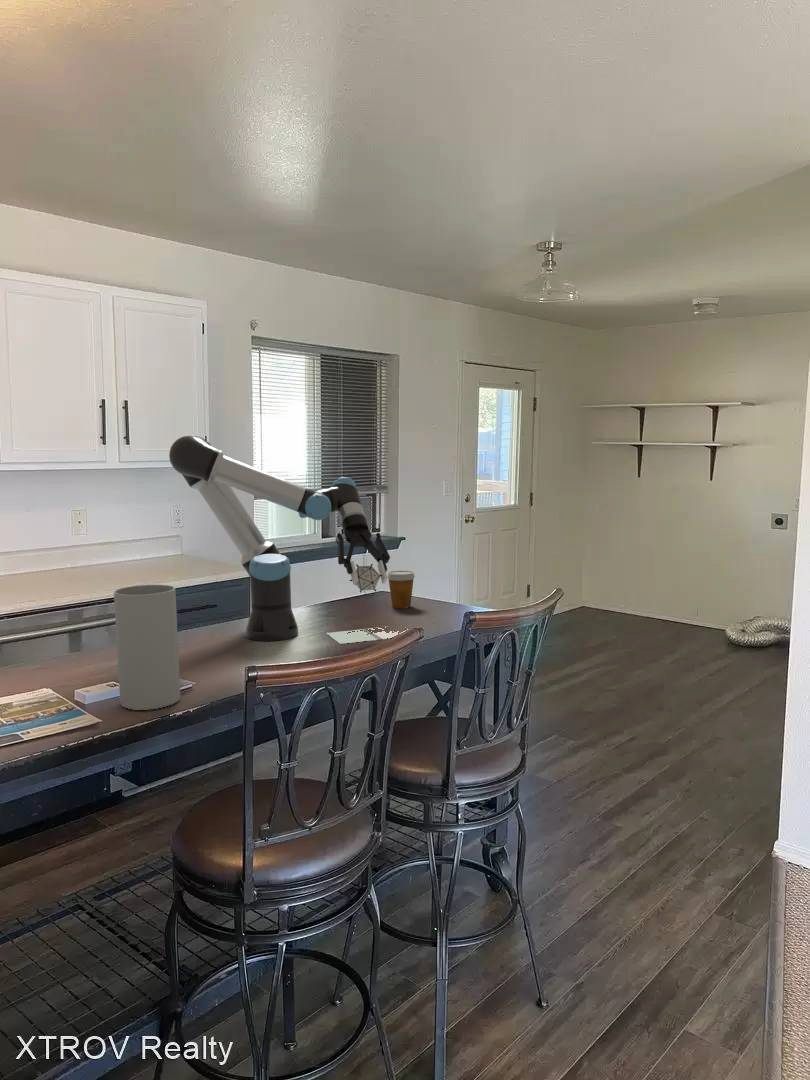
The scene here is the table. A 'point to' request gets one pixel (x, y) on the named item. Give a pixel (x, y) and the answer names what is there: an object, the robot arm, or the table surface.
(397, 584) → the disposable coffee cup
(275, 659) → the table surface
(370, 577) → the game die
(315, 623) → the table surface
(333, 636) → the game board
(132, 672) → the cylinder vase
